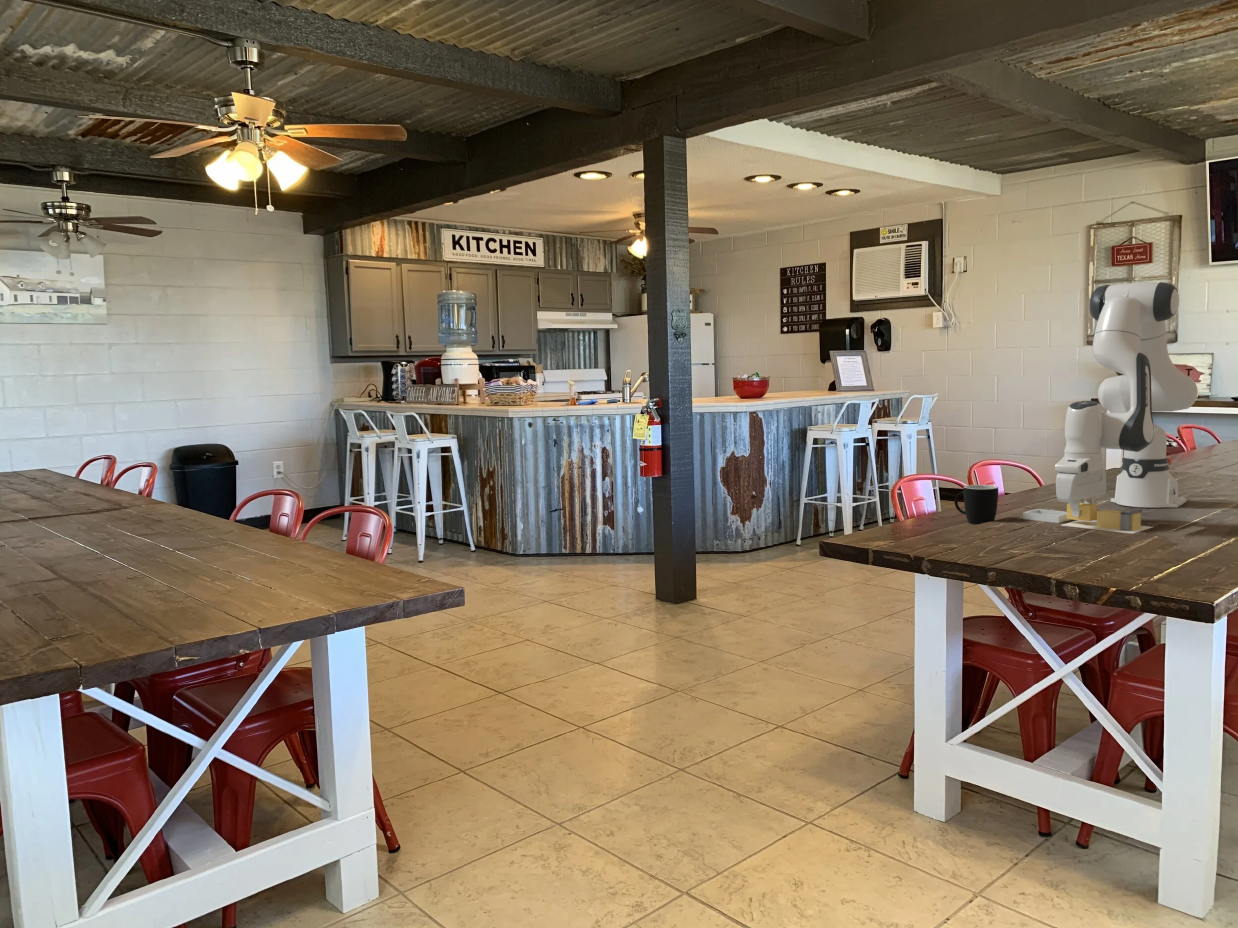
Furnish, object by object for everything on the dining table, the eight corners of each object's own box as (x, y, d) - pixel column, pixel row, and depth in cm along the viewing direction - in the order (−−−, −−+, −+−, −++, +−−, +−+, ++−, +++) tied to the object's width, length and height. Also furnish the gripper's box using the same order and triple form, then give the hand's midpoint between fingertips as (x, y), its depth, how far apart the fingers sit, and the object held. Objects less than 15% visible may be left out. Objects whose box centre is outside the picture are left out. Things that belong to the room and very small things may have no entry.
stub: (1074, 516, 246) (1074, 502, 246) (1096, 519, 241) (1097, 504, 241) (1066, 518, 244) (1066, 503, 243) (1089, 521, 239) (1089, 506, 239)
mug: (1003, 522, 255) (1003, 486, 254) (989, 526, 249) (989, 489, 248) (962, 518, 264) (962, 483, 262) (947, 522, 257) (947, 486, 256)
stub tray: (1037, 519, 257) (1037, 508, 257) (1073, 523, 249) (1073, 512, 249) (1022, 522, 252) (1022, 512, 252) (1058, 527, 245) (1058, 516, 244)
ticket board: (1082, 523, 248) (1082, 501, 248) (1153, 531, 234) (1154, 507, 234) (1060, 529, 241) (1060, 506, 241) (1132, 538, 227) (1132, 513, 226)
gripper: (1089, 458, 250) (1088, 508, 251) (1051, 465, 237) (1050, 518, 239) (1113, 460, 245) (1112, 511, 246) (1075, 467, 232) (1075, 521, 234)
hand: (1081, 514), depth 242 cm, fingers closed on stub, 4 cm apart
